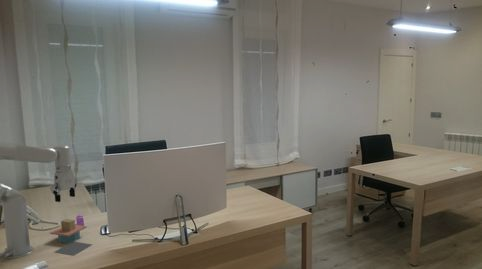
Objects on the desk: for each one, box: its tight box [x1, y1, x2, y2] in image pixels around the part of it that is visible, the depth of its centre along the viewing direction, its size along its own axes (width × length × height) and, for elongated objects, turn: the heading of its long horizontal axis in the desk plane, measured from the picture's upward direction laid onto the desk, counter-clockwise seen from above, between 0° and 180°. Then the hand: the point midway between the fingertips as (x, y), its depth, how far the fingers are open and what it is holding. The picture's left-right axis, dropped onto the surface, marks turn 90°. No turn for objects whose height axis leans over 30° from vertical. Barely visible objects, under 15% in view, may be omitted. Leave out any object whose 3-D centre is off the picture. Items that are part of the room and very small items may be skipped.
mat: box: [53, 241, 93, 257], centre depth 176 cm, size 13×13×1 cm
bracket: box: [75, 214, 85, 226], centre depth 203 cm, size 13×6×7 cm, turn 119°
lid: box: [49, 218, 87, 237], centre depth 187 cm, size 12×12×6 cm
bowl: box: [57, 231, 81, 243], centre depth 188 cm, size 10×10×5 cm
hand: (65, 199), depth 185 cm, fingers open, 9 cm apart
